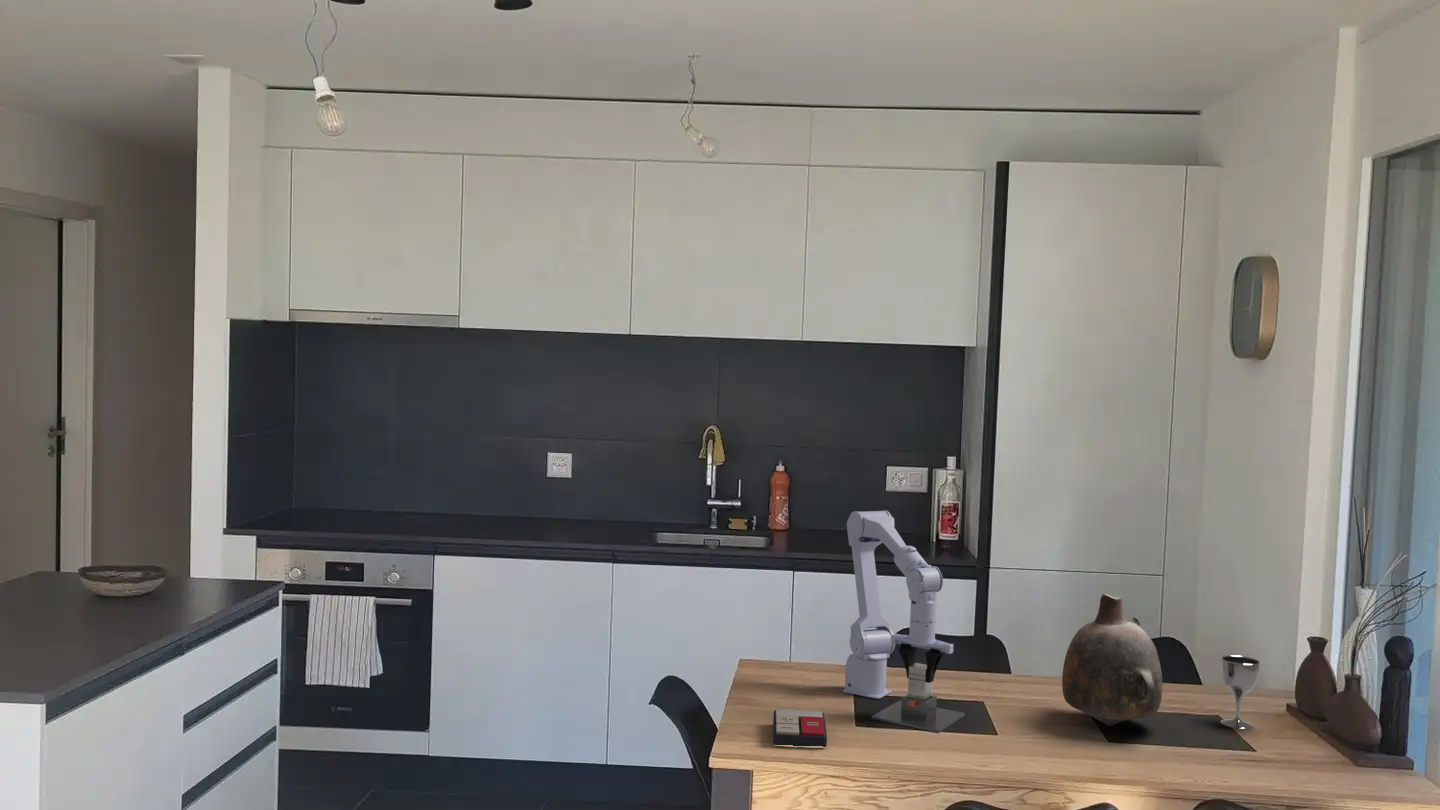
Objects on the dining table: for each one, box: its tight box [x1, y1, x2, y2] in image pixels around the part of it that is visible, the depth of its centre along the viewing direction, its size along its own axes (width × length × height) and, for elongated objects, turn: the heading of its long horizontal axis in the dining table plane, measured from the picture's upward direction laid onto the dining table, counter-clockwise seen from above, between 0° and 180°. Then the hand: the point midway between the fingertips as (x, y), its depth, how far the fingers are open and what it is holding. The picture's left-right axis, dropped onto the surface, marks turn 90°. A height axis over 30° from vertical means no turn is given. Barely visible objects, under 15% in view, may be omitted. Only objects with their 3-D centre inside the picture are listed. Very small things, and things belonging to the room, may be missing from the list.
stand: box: [871, 694, 966, 734], centre depth 273 cm, size 16×16×5 cm
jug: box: [1061, 593, 1163, 727], centre depth 272 cm, size 24×21×30 cm
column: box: [907, 662, 933, 701], centre depth 273 cm, size 4×4×8 cm
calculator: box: [772, 708, 828, 747], centre depth 256 cm, size 11×4×15 cm
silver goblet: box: [1220, 654, 1260, 730], centre depth 277 cm, size 8×8×15 cm
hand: (920, 679), depth 273 cm, fingers closed on column, 4 cm apart
